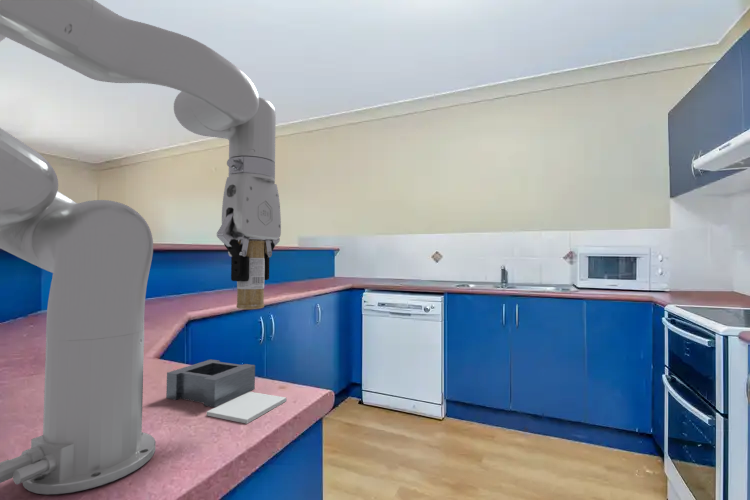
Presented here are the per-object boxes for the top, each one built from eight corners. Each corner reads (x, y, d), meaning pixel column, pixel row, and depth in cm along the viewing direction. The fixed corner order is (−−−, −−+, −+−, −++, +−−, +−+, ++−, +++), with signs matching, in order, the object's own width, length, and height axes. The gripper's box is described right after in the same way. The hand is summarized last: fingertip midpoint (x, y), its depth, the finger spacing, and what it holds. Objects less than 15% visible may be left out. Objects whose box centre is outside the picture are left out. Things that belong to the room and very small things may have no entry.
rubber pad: (246, 423, 56) (247, 419, 56) (206, 415, 59) (206, 411, 59) (286, 401, 66) (286, 397, 66) (249, 394, 69) (249, 391, 69)
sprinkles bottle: (258, 306, 66) (259, 230, 67) (268, 308, 63) (269, 228, 63) (231, 308, 63) (233, 228, 64) (241, 310, 60) (242, 226, 60)
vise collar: (214, 407, 63) (214, 380, 63) (166, 398, 67) (166, 372, 67) (254, 388, 72) (255, 365, 72) (210, 381, 76) (210, 359, 76)
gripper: (233, 158, 55) (231, 283, 54) (298, 181, 70) (297, 279, 70) (195, 163, 57) (192, 282, 57) (266, 184, 73) (264, 278, 72)
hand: (250, 279), depth 63 cm, fingers closed on sprinkles bottle, 4 cm apart
